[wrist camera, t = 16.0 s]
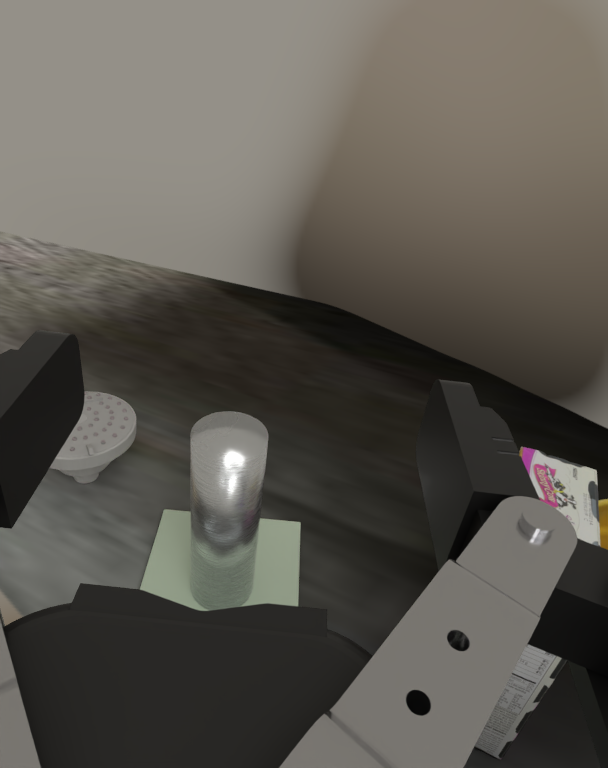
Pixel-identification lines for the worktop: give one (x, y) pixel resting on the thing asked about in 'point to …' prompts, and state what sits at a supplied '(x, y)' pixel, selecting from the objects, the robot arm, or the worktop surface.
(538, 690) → the candy bar box
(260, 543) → the pad
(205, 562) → the brushed metal cylinder
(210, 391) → the worktop surface
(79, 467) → the showerhead
